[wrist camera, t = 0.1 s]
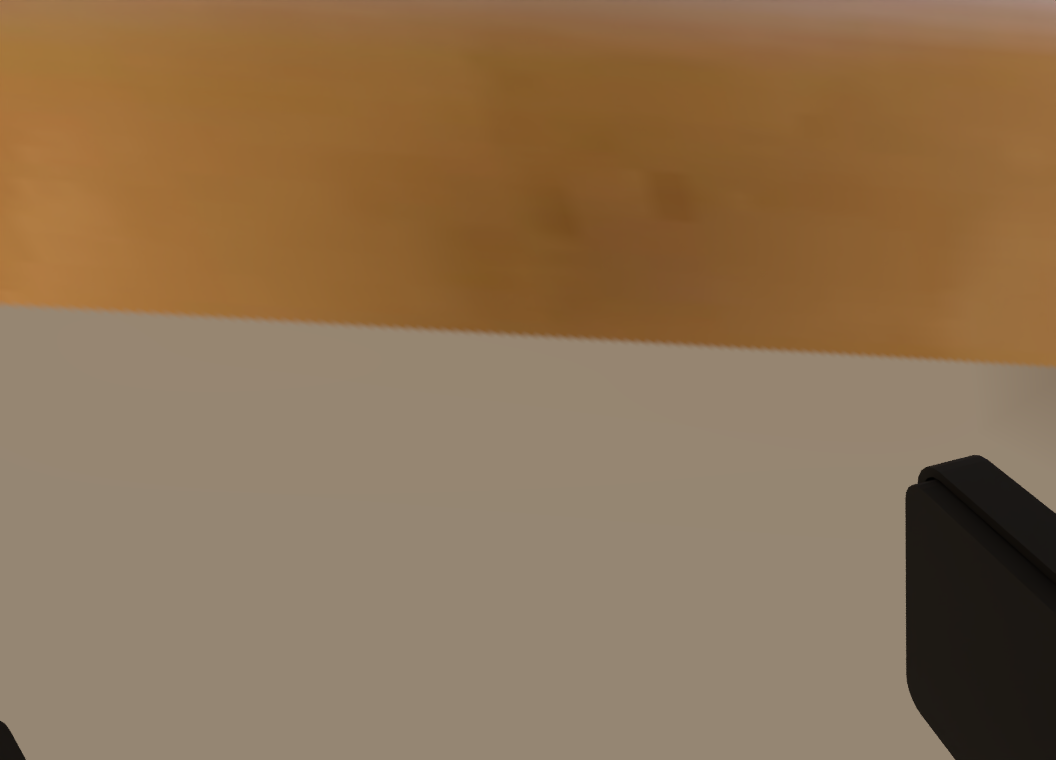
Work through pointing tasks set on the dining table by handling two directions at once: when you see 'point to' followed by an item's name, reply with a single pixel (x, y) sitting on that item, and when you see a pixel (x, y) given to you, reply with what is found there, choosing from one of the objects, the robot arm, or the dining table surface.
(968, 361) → the dining table surface
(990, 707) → the robot arm
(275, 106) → the dining table surface
